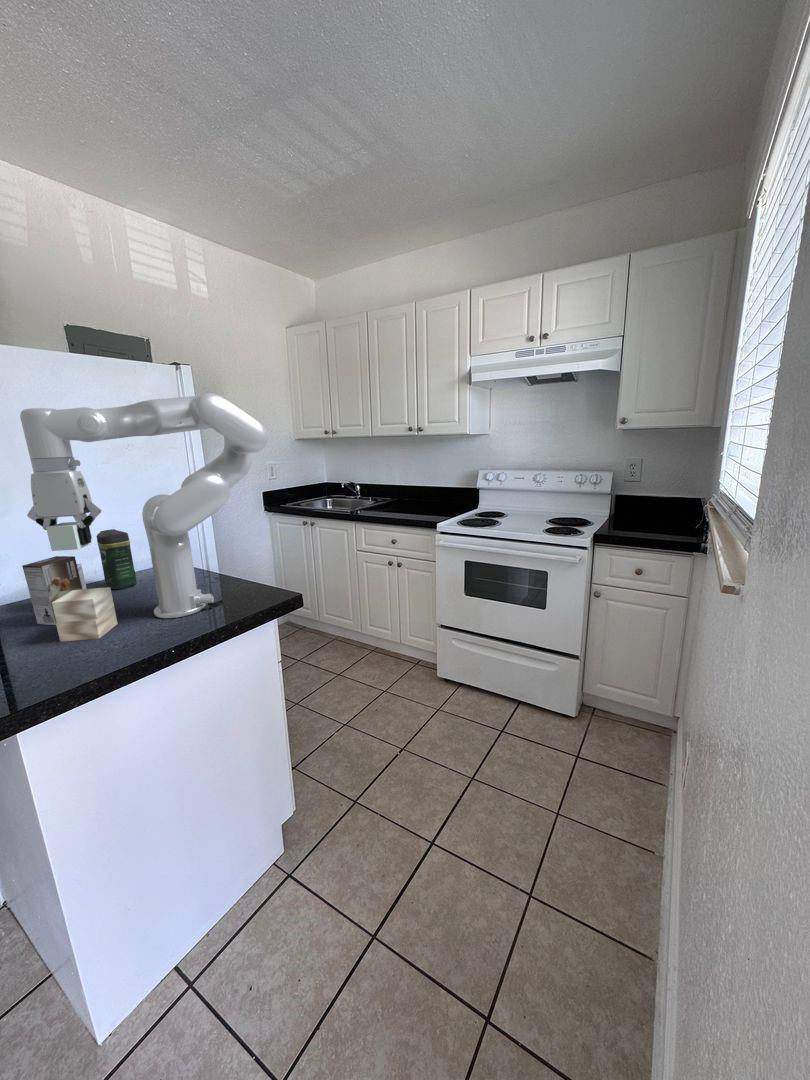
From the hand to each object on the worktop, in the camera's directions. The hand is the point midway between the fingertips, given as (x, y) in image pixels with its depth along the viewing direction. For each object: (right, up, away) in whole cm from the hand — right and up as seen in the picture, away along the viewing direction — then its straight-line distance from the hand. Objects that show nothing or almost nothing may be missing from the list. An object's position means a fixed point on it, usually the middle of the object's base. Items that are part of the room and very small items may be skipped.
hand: (71, 543), depth 100 cm
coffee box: (-14, -20, +15) cm, 28 cm away
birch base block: (0, -22, +5) cm, 22 cm away
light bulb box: (-22, -18, +26) cm, 38 cm away
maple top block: (0, -17, +4) cm, 17 cm away
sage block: (0, -1, 0) cm, 1 cm away
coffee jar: (-15, -14, +40) cm, 45 cm away
